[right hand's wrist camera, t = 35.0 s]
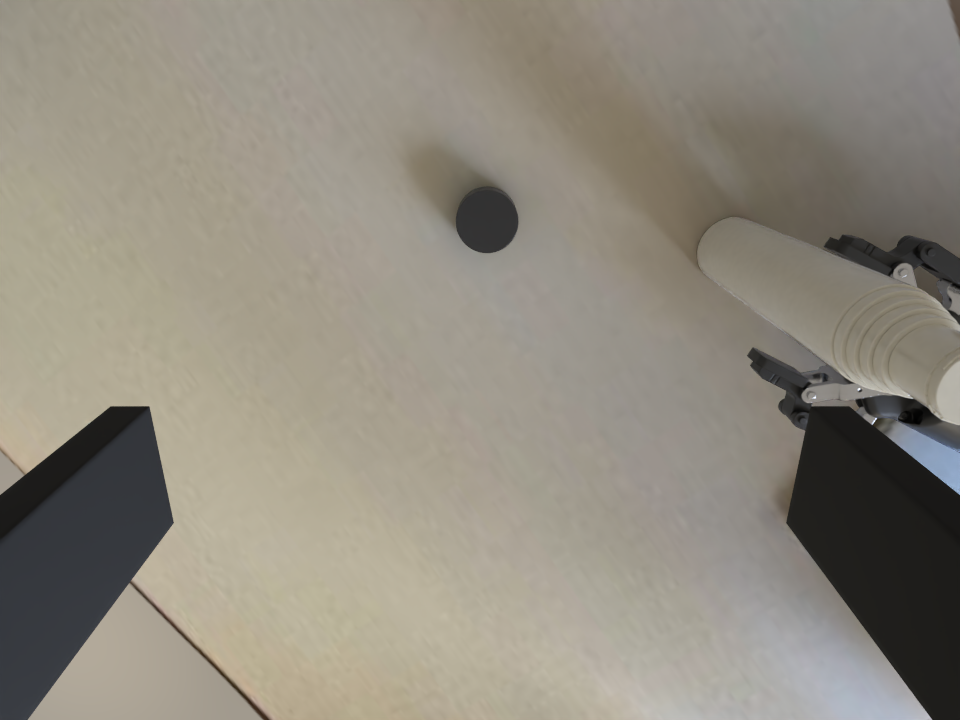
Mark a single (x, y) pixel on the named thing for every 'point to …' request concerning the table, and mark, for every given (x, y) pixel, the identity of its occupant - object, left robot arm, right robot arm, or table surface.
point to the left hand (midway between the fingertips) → (791, 301)
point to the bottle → (841, 312)
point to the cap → (487, 220)
